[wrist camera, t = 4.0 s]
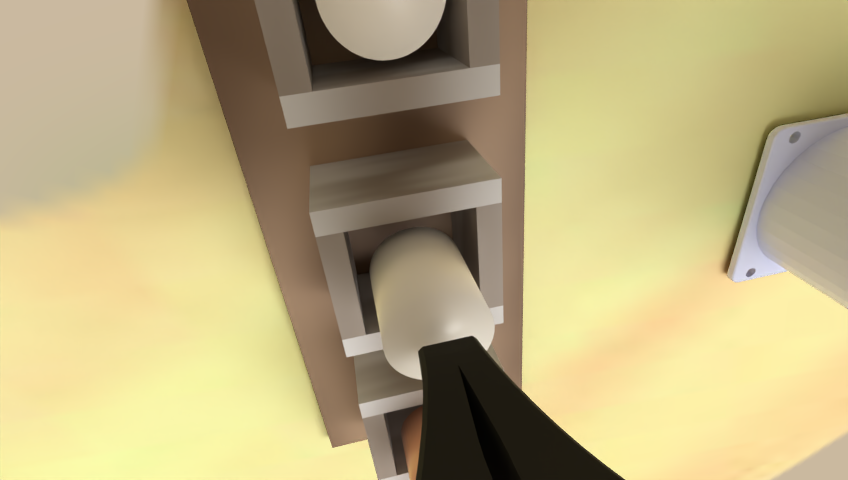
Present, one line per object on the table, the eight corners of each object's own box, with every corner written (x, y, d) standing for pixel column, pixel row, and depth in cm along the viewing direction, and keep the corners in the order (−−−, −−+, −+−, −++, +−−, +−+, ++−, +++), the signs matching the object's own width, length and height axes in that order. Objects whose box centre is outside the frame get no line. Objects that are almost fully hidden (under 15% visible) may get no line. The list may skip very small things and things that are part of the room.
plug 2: (457, 218, 14) (493, 280, 12) (462, 294, 16) (495, 366, 13) (361, 237, 14) (374, 305, 11) (377, 312, 16) (391, 390, 13)
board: (521, -206, 13) (602, -273, 9) (517, 393, 25) (550, 463, 22) (135, -176, 11) (55, -242, 8) (332, 437, 24) (335, 519, 20)
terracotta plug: (469, 393, 19) (498, 470, 16) (473, 439, 20) (499, 518, 17) (396, 410, 18) (411, 493, 15) (405, 456, 20) (421, 539, 17)
